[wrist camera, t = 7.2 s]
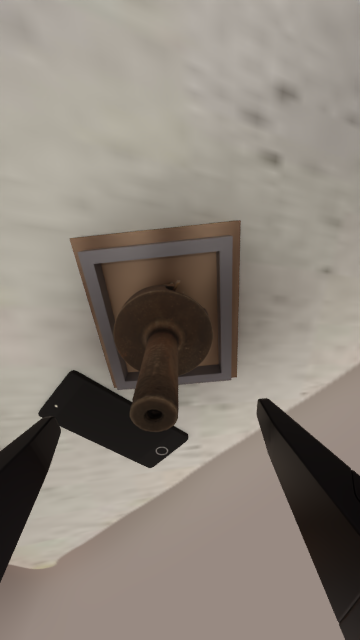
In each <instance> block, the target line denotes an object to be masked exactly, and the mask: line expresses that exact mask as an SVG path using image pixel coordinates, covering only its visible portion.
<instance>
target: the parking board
mask: <svg viewBox="0 0 360 640" xmlns="http://www.w3.org/2000/svg"><path fill="white" fill-rule="evenodd" d="M240 223H241V220H239V221H229V222H220V223H210V224H201V225H191V226H182V227H173V228H163V229H154V230H144V231H135V232H126V233H116V234H107V235H97V236H88V237H79V238H70V242H71V245H72V248H73V252H74V255H75V258H76V262H77V265H78V268H79V272H80V275H81V278H82V282H83V285H84V288H85V292H86V295H87V298H88V302H89V305H90V308H91V312H92V315H93V318H94V322H95V325H96V328H97V332H98V335H99V339H100V342H101V345H102V349H103V352H104V355H105V359H106V362H107V365H108V369H109V372H110V375H111V379H112V382H113V385H114V388H117V386H116V383H115V379H114V376H113V373H112V369H111V366H110V362H109V359H108V355H107V352H106V349H105V345H104V342H103V338H102V335H101V332H100V328H99V325H98V321H97V318H96V314H95V311H94V308H93V304H92V301H91V297H90V294H89V290H88V287H87V284H86V280H85V277H84V273H83V270H82V267H81V263H80V260H79V256H78V253H77V252H80V251H84V250H91V249H100V248H110V247H119V246H129V245H138V244H148V243H157V242H167V241H176V240H186V239H195V238H205V237H215V236H224V235H230V236H233V248H232V353H231V378H233V377H237V349H238V307H239V265H240ZM101 267H102V271H103V275H104V279H105V283H106V287H107V291H108V295H109V299H110V303H111V307H112V311H113V315H114V319H115V321H116V318H117V315H118V314H119V312H120V311H121V309H122V307H123V306H124V304H125V303H126V302H127V300H128V299H129V298H130V297H131V296H132V295H134V294H135V293H137V292H138V291H140V290H142V289H144V288H147V287H150V286H155V285H163V284H170V282H173V284H175V283H176V281H177V280H180V284H179V286H178V287H177V289H176V290H175V291H176V292H179V293H182V294H184V293H185V294H184V295H187V296H189V297H191V298H192V299H194V300H195V301H196V302H198V303H199V304H200V305H201V306H202V307H203V308H205V309H206V310H207V312H208V315H209V318H210V321H211V324H212V329H213V342H212V346H211V349H210V351H209V353H208V355H207V357H206V358H205V359H204V361H203V362H202V363H201V364H200V365H199V366H205V365H217V364H219V351H218V305H217V260H216V252H206V253H196V254H186V255H177V256H167V257H157V258H148V259H138V260H128V261H118V262H109V263H101ZM183 292H184V293H183ZM125 362H126V361H125ZM126 366H127V370H128V372H138V371H137V370H136V369H134V368H133V367H131V366H130V365H129V364H128V363H127V362H126Z"/></svg>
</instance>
